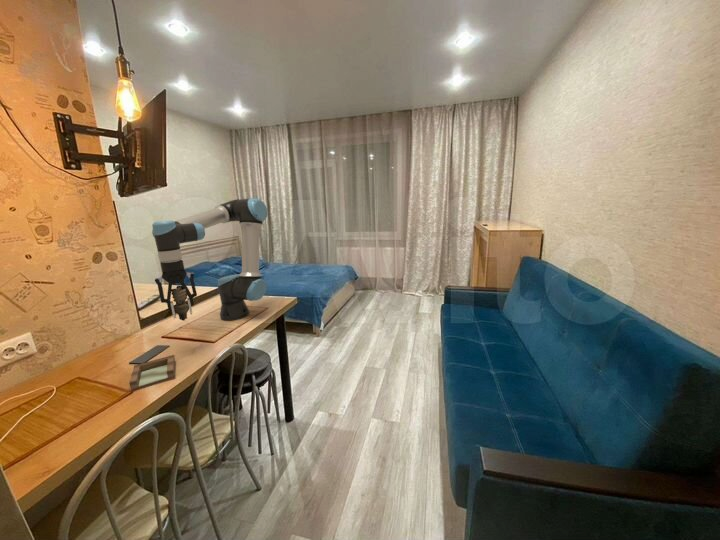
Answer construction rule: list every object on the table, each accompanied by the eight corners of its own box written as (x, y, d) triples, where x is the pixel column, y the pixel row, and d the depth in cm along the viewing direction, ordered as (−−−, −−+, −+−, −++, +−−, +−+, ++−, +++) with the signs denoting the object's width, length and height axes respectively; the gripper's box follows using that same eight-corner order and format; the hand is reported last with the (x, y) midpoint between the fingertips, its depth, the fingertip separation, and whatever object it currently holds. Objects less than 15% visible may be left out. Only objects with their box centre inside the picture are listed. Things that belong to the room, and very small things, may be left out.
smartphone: (170, 345, 132) (142, 363, 118) (170, 347, 132) (143, 365, 118) (157, 345, 133) (127, 362, 119) (157, 346, 133) (128, 364, 119)
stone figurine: (190, 316, 124) (184, 283, 121) (194, 320, 120) (187, 285, 117) (175, 320, 120) (168, 286, 117) (178, 324, 117) (171, 288, 113)
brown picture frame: (175, 378, 107) (173, 369, 106) (131, 391, 101) (129, 382, 100) (175, 362, 118) (173, 354, 117) (136, 373, 112) (134, 365, 111)
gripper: (197, 255, 122) (207, 307, 127) (144, 262, 113) (157, 317, 118) (198, 258, 115) (208, 312, 121) (142, 265, 106) (156, 324, 112)
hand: (183, 315), depth 120 cm, fingers closed on stone figurine, 5 cm apart
